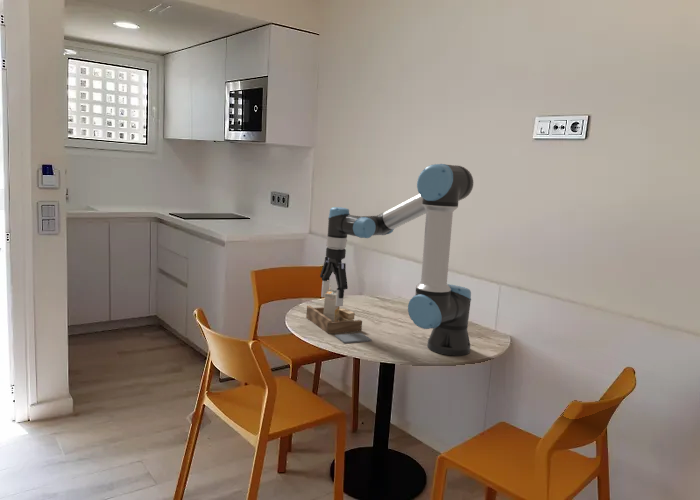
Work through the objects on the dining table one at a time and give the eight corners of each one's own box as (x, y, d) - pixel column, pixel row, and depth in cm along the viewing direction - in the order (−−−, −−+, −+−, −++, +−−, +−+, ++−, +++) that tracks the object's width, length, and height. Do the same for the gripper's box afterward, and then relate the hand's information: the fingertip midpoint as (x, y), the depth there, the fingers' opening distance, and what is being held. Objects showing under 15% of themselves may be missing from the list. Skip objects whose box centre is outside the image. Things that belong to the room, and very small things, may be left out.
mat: (371, 341, 205) (371, 339, 205) (344, 343, 200) (344, 341, 200) (361, 334, 212) (361, 332, 212) (334, 336, 207) (334, 334, 207)
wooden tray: (361, 331, 216) (362, 318, 215) (327, 333, 210) (328, 320, 209) (337, 315, 235) (338, 304, 234) (306, 317, 229) (307, 305, 228)
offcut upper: (354, 319, 222) (354, 312, 222) (348, 319, 221) (348, 313, 220) (343, 314, 228) (343, 308, 227) (337, 315, 226) (337, 309, 226)
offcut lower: (353, 327, 221) (354, 320, 221) (346, 328, 220) (346, 320, 219) (342, 321, 229) (343, 313, 229) (335, 321, 228) (336, 314, 227)
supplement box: (334, 328, 218) (336, 294, 216) (322, 326, 218) (324, 293, 216) (339, 322, 226) (341, 290, 224) (327, 321, 227) (329, 289, 225)
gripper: (359, 253, 208) (354, 309, 212) (331, 242, 230) (327, 292, 234) (341, 253, 205) (336, 310, 208) (314, 242, 227) (310, 293, 230)
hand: (331, 301), depth 221 cm, fingers open, 13 cm apart
